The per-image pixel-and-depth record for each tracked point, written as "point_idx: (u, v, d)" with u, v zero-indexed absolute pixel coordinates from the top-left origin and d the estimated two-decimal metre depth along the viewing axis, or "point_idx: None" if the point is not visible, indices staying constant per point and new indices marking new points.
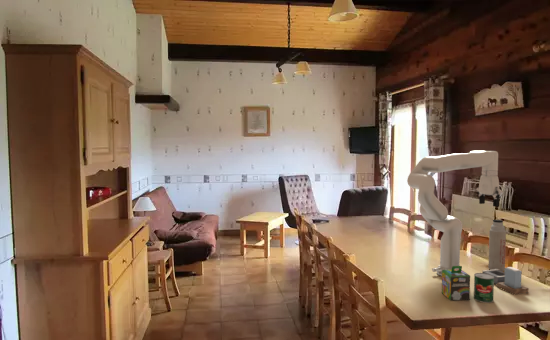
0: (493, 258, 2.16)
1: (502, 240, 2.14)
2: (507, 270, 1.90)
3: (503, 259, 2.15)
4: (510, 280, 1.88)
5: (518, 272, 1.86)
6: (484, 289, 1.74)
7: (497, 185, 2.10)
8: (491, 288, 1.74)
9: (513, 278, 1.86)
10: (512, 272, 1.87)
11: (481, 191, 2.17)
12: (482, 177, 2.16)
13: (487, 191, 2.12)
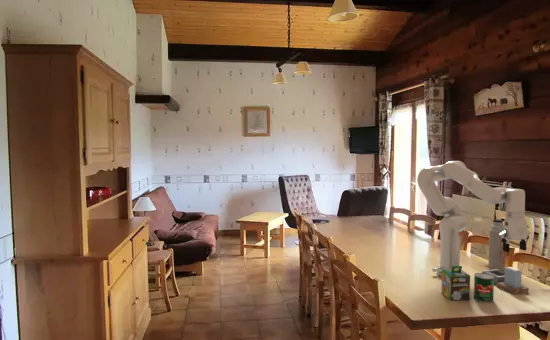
0: (493, 258, 2.16)
1: None
2: (507, 270, 1.90)
3: (503, 259, 2.15)
4: (510, 280, 1.88)
5: (518, 272, 1.86)
6: (484, 289, 1.74)
7: None
8: (491, 288, 1.74)
9: (513, 278, 1.86)
10: (512, 272, 1.87)
11: (515, 237, 1.84)
12: (515, 220, 1.84)
13: (522, 235, 1.85)
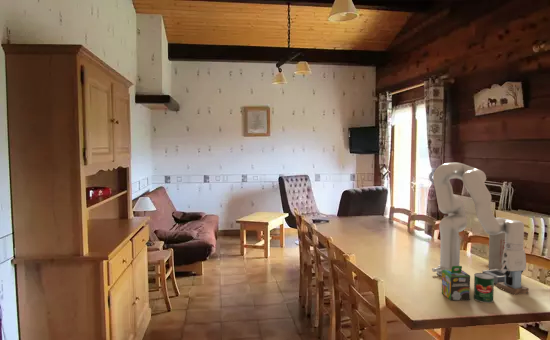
0: (493, 258, 2.16)
1: (502, 240, 2.14)
2: None
3: None
4: None
5: (518, 272, 1.86)
6: (484, 289, 1.74)
7: None
8: (491, 288, 1.74)
9: (513, 278, 1.86)
10: (512, 272, 1.87)
11: (513, 268, 1.85)
12: (514, 252, 1.85)
13: (521, 267, 1.86)
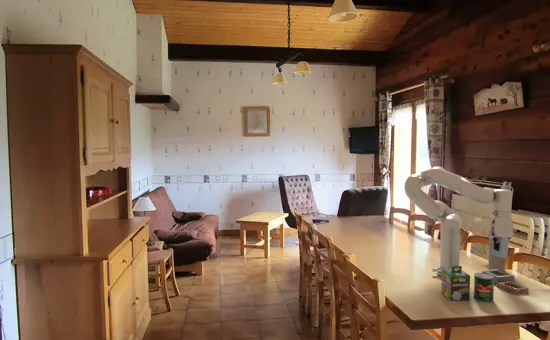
0: (493, 258, 2.16)
1: None
2: None
3: (503, 259, 2.15)
4: None
5: (505, 238, 1.95)
6: (484, 289, 1.74)
7: None
8: (491, 288, 1.74)
9: (500, 244, 1.96)
10: (500, 238, 1.96)
11: (501, 234, 1.95)
12: (502, 219, 1.94)
13: (508, 233, 1.96)
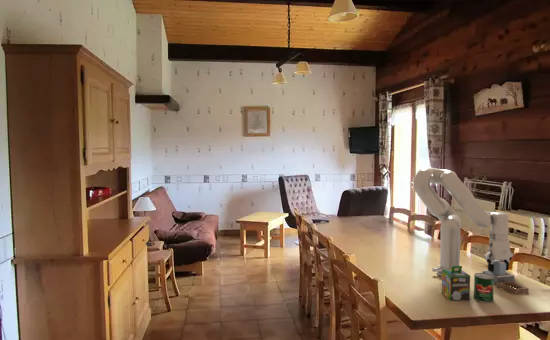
0: None
1: None
2: None
3: None
4: (496, 272, 2.00)
5: (503, 264, 1.98)
6: (484, 289, 1.74)
7: None
8: (491, 288, 1.74)
9: (498, 270, 1.99)
10: (497, 264, 1.99)
11: (499, 257, 1.97)
12: (499, 242, 1.97)
13: (506, 256, 1.98)
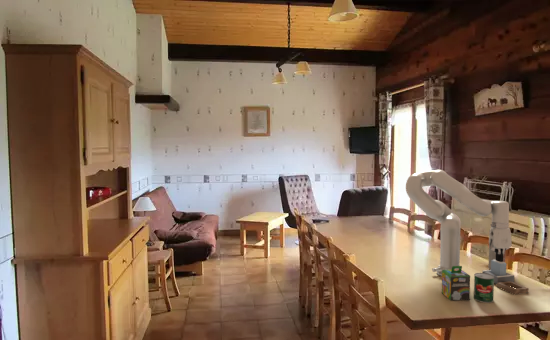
0: (493, 258, 2.16)
1: None
2: (493, 262, 2.02)
3: (503, 259, 2.15)
4: (496, 272, 2.00)
5: (503, 264, 1.98)
6: (484, 289, 1.74)
7: None
8: (491, 288, 1.74)
9: (498, 270, 1.99)
10: (498, 264, 1.99)
11: (500, 246, 1.97)
12: (500, 230, 1.97)
13: (507, 244, 1.98)
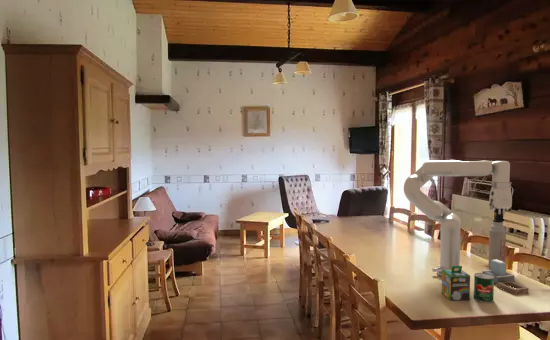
0: (493, 258, 2.16)
1: (502, 240, 2.14)
2: (493, 262, 2.02)
3: (503, 259, 2.15)
4: (496, 272, 2.00)
5: (503, 264, 1.98)
6: (484, 289, 1.74)
7: None
8: (491, 288, 1.74)
9: (498, 270, 1.99)
10: (497, 264, 1.99)
11: (500, 206, 1.96)
12: (500, 190, 1.96)
13: (507, 204, 1.97)
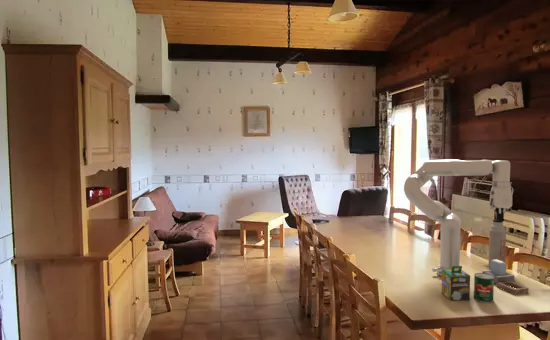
0: (493, 258, 2.16)
1: (502, 240, 2.14)
2: (493, 262, 2.02)
3: (503, 259, 2.15)
4: (496, 272, 2.00)
5: (503, 264, 1.98)
6: (484, 289, 1.74)
7: None
8: (491, 288, 1.74)
9: (498, 270, 1.99)
10: (497, 264, 1.99)
11: (500, 205, 1.96)
12: (501, 189, 1.95)
13: (507, 204, 1.97)
